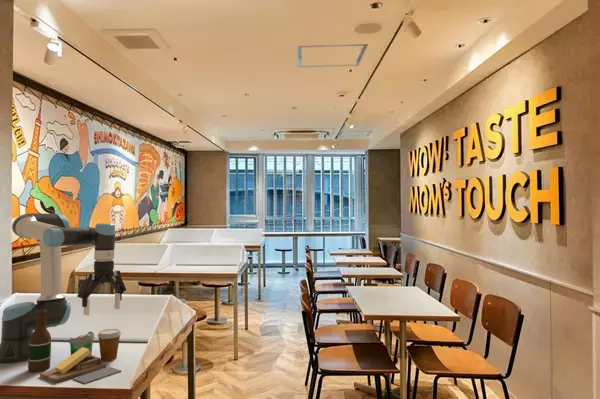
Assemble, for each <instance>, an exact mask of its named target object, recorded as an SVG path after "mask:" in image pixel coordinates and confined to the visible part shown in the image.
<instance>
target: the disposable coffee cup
mask: <svg viewBox="0 0 600 399" xmlns="http://www.w3.org/2000/svg"><path fill="white" fill-rule="evenodd" d="M121 336H122V332H121V329H118V328H108V329H104V330H103V329H102V330H100V331H98V334H97V338H98V346H99V354H100V355H99V356H100V358H101V362H102V361H103V362H111V361H114V360H116V359H117V357H118V356H117V355H118V350H119V343H120V340H121V339H120V337H121Z"/></svg>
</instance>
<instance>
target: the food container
mask: <svg viewBox="0 0 600 399" xmlns="http://www.w3.org/2000/svg"><path fill="white" fill-rule="evenodd" d="M95 339H96V337H95V333H94V332H93V331H88V333H86V334H83V335H79V336H77V337H75V338H74V337H70V339H69V341H68V344H69V347H70V356H71V355H72V354H74V353H75V352H76V351H78V350H79V349H81V348H82V347H84V348H87V349H89V350H90V352H91V354H89V355H92V352H93V346H94V345H93V344H94V343H93V342H94V340H95Z"/></svg>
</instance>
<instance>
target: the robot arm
mask: <svg viewBox="0 0 600 399" xmlns="http://www.w3.org/2000/svg"><path fill="white" fill-rule="evenodd" d="M11 228H12V232H13V233H14V235H16V236H17V237H19V238H23V239H34V240H36V242H37V243H38V245H40V296H39V297H38V298H37V299H36V304H35V302H34V301H25V302H23V301H22V302H17V303H14V304H12V305H11V304H10V305H9V306H5V308H4V309H3V311H2V317H1V336H0V339H1V340H0V364H9V363H11V364H12V363H17V362H18V363H19V362H23V361H28V355H29V340H30V337H31V335H32V333H33V332H34V331H35V327H36V318H37V313H36V312H37V311H38V310H46V311H47V313H46V327H47V329H48V328H54V327H58V326H62V325H64V324H65V323H67V322H68V320H69V318H70V316H71V312H72V311H71V308H72V307H71V303H70V301H69V299H68V300H67V299H66V296H65V295H64V294H63V293H62V287H63V286H62V247H71V246H72V247H74V246H75V247H76V246H78V247H81V246H94V255H93V259H94V261H93V271H94V272H93V273H90V272H89V273H88V272H87V273H86V275H85V280H84V281H83V283H82V285H81V288H80V289H79V291H78V293H77V298H80V299H81V301H82V302H81V307H82V308H83V316H90V309H91V307H90V305H91V304H90V303H91V302H90V301H91V298H90V296H91V295H92V294H93V292H94V291H95V289H96V288H97V286H99V285H100V284H104V283H108V284H110V286H111V287H112V288H113V289H114V291H115V293H114V306H113V307H114V309H115V310H121V301H122V297H123V294H124V292H127V288H126V284H125V283H124V281H123V278H122V276H121V270H117V269H115V261H114V259H115V247H116V246H115V245H116V225H115V223H103V222H102V223H100V222H99V223H96V224H95V227H94V226H92V227H91V226H90V227H88V226H87V227H71V225H70V221H69V219H68V217H66V215H64V214H62V213H61V214H60V213H33V212H31V213H24V214H21V215H19V216H17V217H16V218H15V219H14V220H13V222H12V224H11ZM113 276H114V278H113ZM115 280H116V281H115Z"/></svg>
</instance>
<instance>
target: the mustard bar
mask: <svg viewBox="0 0 600 399" xmlns="http://www.w3.org/2000/svg"><path fill="white" fill-rule="evenodd" d="M89 354H91V355H92V353H91V352H90V350H89V349H87V348H84V347H82V348H81V349H79V350H78V351H76V352H75V353H74V354H72V355H71V354H70V355H69V356H68V357H66V358H65V359H64V360H62V361H61V362H60V363H59V364H58V365H56V366H55V367H54V369H56V371H57V372H60V373H62V374H64V373H65V372H67V371H68V370H69V369H71V368H72V367H73V366H75V365H76V364H77V363H79V362H80V361H81V360H83V359H84V358H85V357H87V356H88V355H89Z"/></svg>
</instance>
